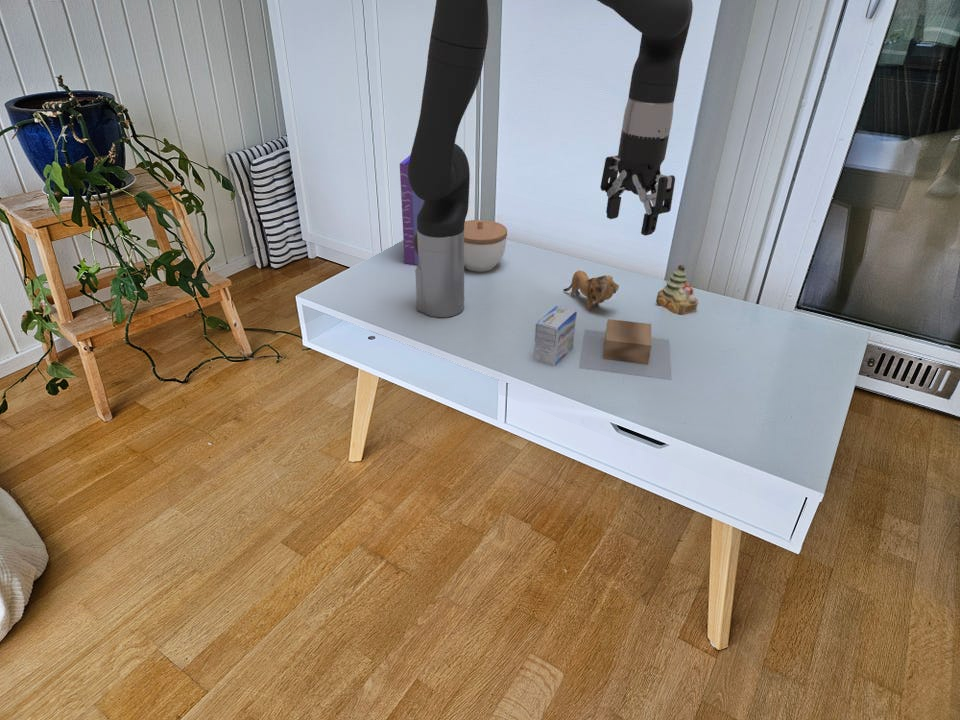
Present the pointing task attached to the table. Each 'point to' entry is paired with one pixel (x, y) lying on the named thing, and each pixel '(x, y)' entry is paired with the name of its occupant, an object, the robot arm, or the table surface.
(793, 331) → the table surface
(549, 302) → the table surface
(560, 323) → the medicine box
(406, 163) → the cereal box
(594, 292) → the lion figurine
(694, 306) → the ornament
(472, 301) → the table surface
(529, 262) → the table surface
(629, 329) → the base brick
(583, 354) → the plate
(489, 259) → the lidded bowl
